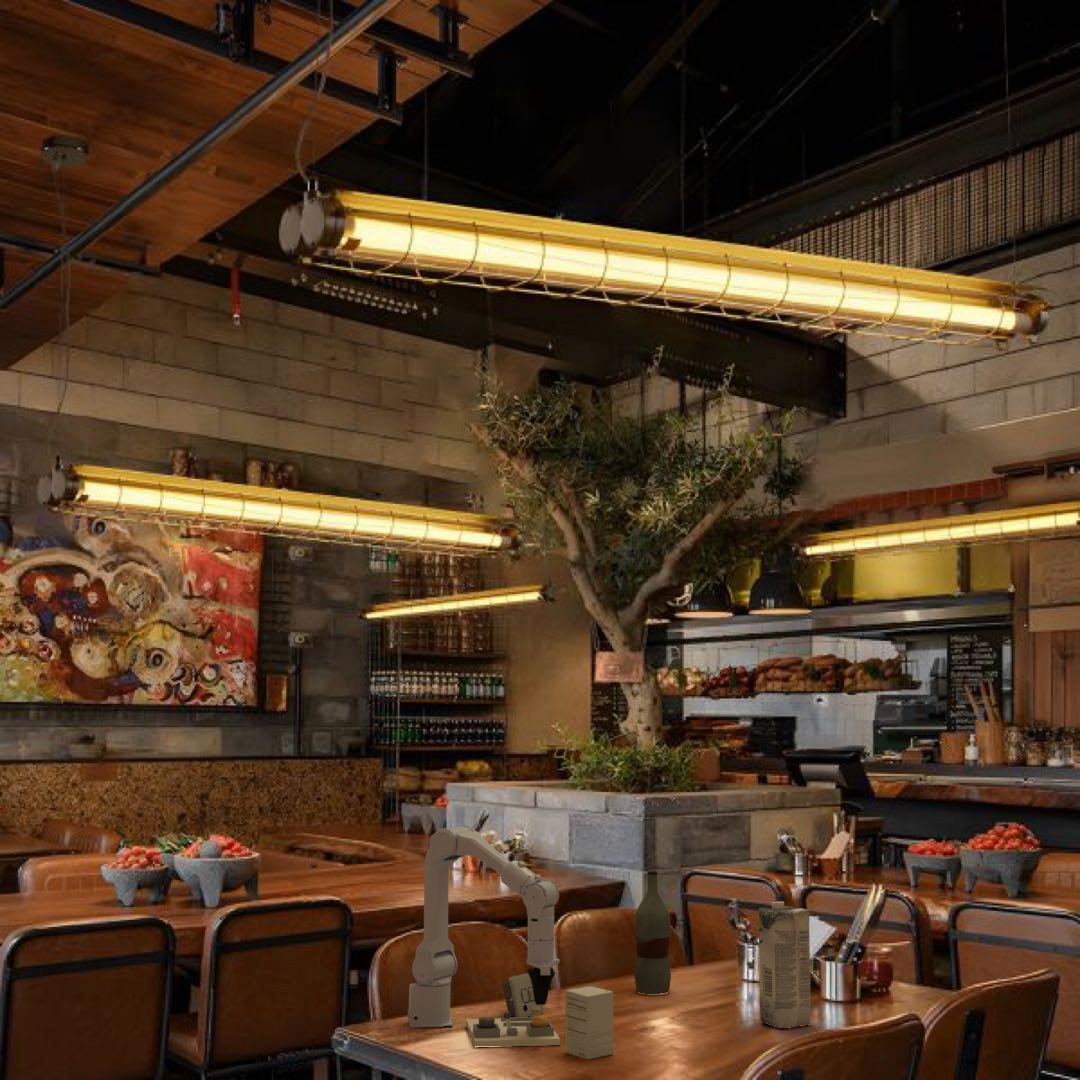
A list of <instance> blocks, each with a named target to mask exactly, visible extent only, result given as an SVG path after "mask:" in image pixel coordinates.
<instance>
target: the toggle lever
mask: <svg viewBox="0 0 1080 1080" xmlns="http://www.w3.org/2000/svg"><path fill="white" fill-rule="evenodd" d="M502 1016H503V1018H505V1019H506V1023H507V1028H508V1030H512V1028H511V1022H510V1017H511V1014H510V1012H508V1011H505V1012H503V1015H502Z"/></svg>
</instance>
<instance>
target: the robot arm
mask: <svg viewBox="0 0 1080 1080" xmlns="http://www.w3.org/2000/svg"><path fill="white" fill-rule="evenodd" d="M465 856H468V857H469V856H471V857H472V856H473V857H475V858H476V859H477V860H479V861H480V862H482V863H484V864H485V865H486V866H488V867H489V868H491V869H492V870H493V871H495V872H497V873H498V874H499V875H500V881H501V883H502V884H504V885H505V886H506V887H508V888H509V889H510V890H511V891H513V892H514V893H515V894H517V895H518V896H520V898H522V901H523V904H524V906H525V907H526V915H527V959H526V965H528V966H531V967H533V968H527V969H526V972H527V974H529V977H530V980H531V983H532V988H533V994H534V1000H535V1003H536V1005H543V1006H544V1005H546V1004H547V1001H548V996H549V990H550V986H551V984H552V981H553V978H554V977H555V974H556V972H555V970H554V968H552V967H553V966H554V965H555V964H560V961H561V960H560V959H559V958H555V906H556V904H557V903H558V902H559V899H560V891H559V887H558V886H557V885H556V884H555V883H554V881H553V880H552V879H551V880H550V879H542V876H541V875H540V874H536V873H534V871H532V870H530V869H529V868H527V867H526V862H525V861H523V860H520V861H519V860H512V861H510V860H509V859H508V858H506V856H504V855H503V854H502V853H500V852H499V851H498V850H497V849H496V848H495V847H493V846H492V844H490V843H489V842H488V841H487V840H486V839H485V838H483V836H482V834H481V833H480V832H479V831H477V830H475V829H474V828H472V827H471V826H469V825H462V826H457V827H450V828H449V827H448V828H447V827H442V828H440V829H437V830H436V831H435V833H433V834H432V835H431V836H430V837H429V847H428V850H427V852H426V855H425V857H424V874H423V876H424V877H423V878H424V879H423V880H424V884H423V886H424V889H423V892H424V893H423V900H424V901H423V939H422V941H421V942H420V944H419V945H418V946H417V947H416V949H415V957H414V960H413V962H412V964H411V965H412V967H411V970H412V974H413V977H414V979H415V980H416V983H410V984H409V987H408V989H409V990H408V991H409V993H408V1010H407V1019H408V1023H409V1028H445V1027H444V1026H452V1027H454V1024H453V1021H452V1019H451V984H452V983H451V982H452V981H453V978H452V977H453V976H454V975H455V974H456V973H457V970H458V961H457V957H456V954H455V946H454V943H452V941H451V940H450V939H449V874H450V873H449V872H450V871H449V869H450V867H451V866H452V865H453V864H454V863H456V862H457V860H459V859H460V858H463V857H465Z"/></svg>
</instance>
